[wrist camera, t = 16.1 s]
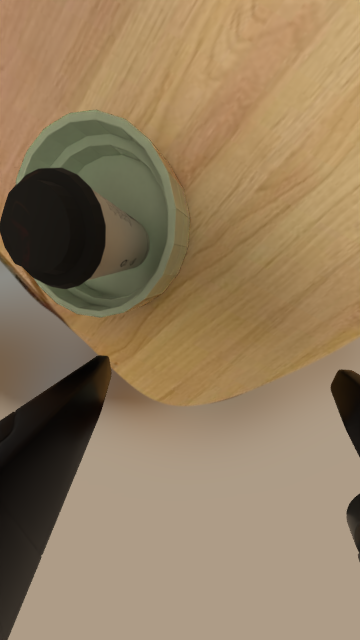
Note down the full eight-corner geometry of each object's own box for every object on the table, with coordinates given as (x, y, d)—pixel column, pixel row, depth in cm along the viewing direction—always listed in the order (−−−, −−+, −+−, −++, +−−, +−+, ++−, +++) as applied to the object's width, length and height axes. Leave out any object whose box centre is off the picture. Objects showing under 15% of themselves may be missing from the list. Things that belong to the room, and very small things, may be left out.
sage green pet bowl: (184, 316, 22) (169, 328, 18) (59, 299, 26) (22, 305, 22) (198, 135, 19) (182, 97, 14) (49, 148, 23) (3, 121, 19)
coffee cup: (144, 189, 20) (52, 125, 11) (172, 265, 21) (108, 264, 12) (86, 224, 23) (-30, 195, 13) (112, 291, 23) (20, 307, 14)
